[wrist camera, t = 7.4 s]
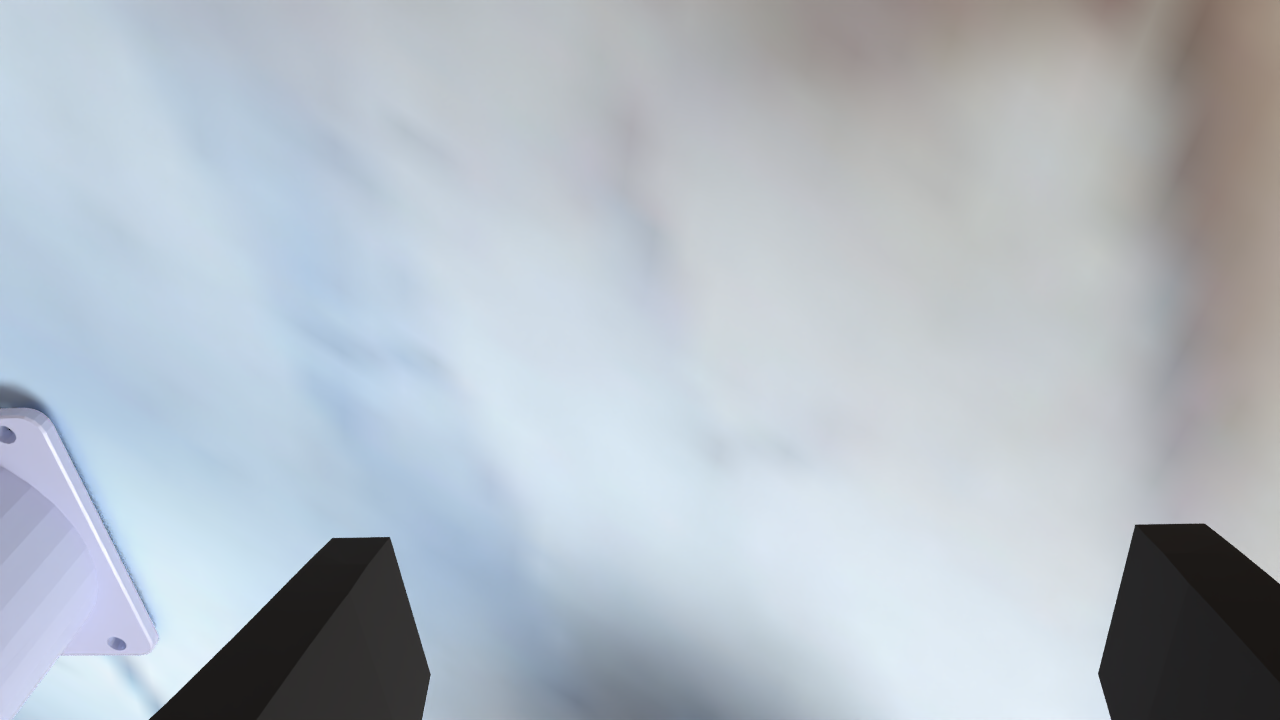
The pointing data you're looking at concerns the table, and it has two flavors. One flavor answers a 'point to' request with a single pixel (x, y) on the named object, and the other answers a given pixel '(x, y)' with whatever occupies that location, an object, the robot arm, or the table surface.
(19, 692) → the robot arm
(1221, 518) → the table surface
